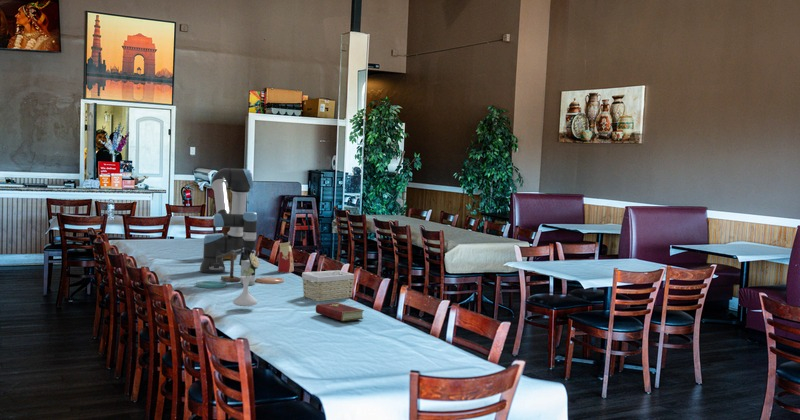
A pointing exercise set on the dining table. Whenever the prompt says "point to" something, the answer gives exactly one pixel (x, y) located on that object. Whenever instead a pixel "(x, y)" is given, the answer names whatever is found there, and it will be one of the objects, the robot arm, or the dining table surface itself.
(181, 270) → the dining table surface
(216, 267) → the balance
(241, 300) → the flower in vase
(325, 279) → the storage basket
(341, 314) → the hardcover book
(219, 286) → the teal dish
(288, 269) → the milk carton
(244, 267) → the small box
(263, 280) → the terracotta dish
